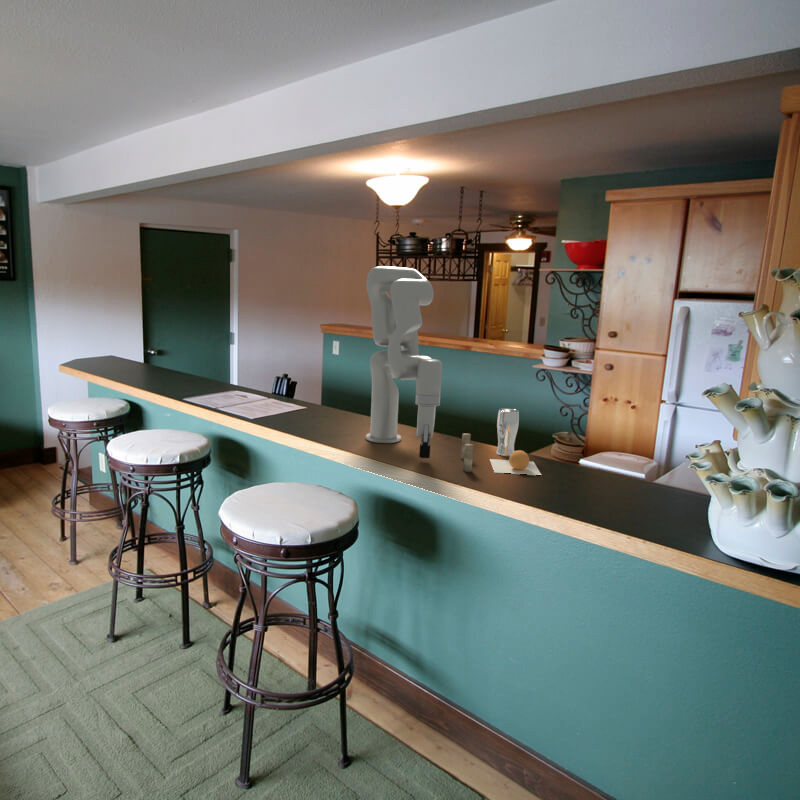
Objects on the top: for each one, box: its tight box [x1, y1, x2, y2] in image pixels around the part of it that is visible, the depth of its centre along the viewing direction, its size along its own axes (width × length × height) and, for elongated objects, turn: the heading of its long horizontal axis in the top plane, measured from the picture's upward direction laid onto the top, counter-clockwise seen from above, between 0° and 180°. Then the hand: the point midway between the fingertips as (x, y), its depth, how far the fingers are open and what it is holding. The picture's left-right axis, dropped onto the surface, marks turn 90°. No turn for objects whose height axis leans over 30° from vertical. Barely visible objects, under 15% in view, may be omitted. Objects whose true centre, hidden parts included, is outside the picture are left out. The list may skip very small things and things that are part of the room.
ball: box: [508, 449, 530, 470], centre depth 173 cm, size 6×6×6 cm
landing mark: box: [489, 458, 542, 477], centre depth 176 cm, size 14×14×1 cm
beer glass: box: [495, 407, 520, 457], centre depth 189 cm, size 7×7×15 cm
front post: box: [462, 443, 474, 473], centre depth 169 cm, size 3×3×8 cm
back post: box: [460, 433, 472, 460], centre depth 182 cm, size 3×3×8 cm
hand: (424, 457), depth 177 cm, fingers closed
